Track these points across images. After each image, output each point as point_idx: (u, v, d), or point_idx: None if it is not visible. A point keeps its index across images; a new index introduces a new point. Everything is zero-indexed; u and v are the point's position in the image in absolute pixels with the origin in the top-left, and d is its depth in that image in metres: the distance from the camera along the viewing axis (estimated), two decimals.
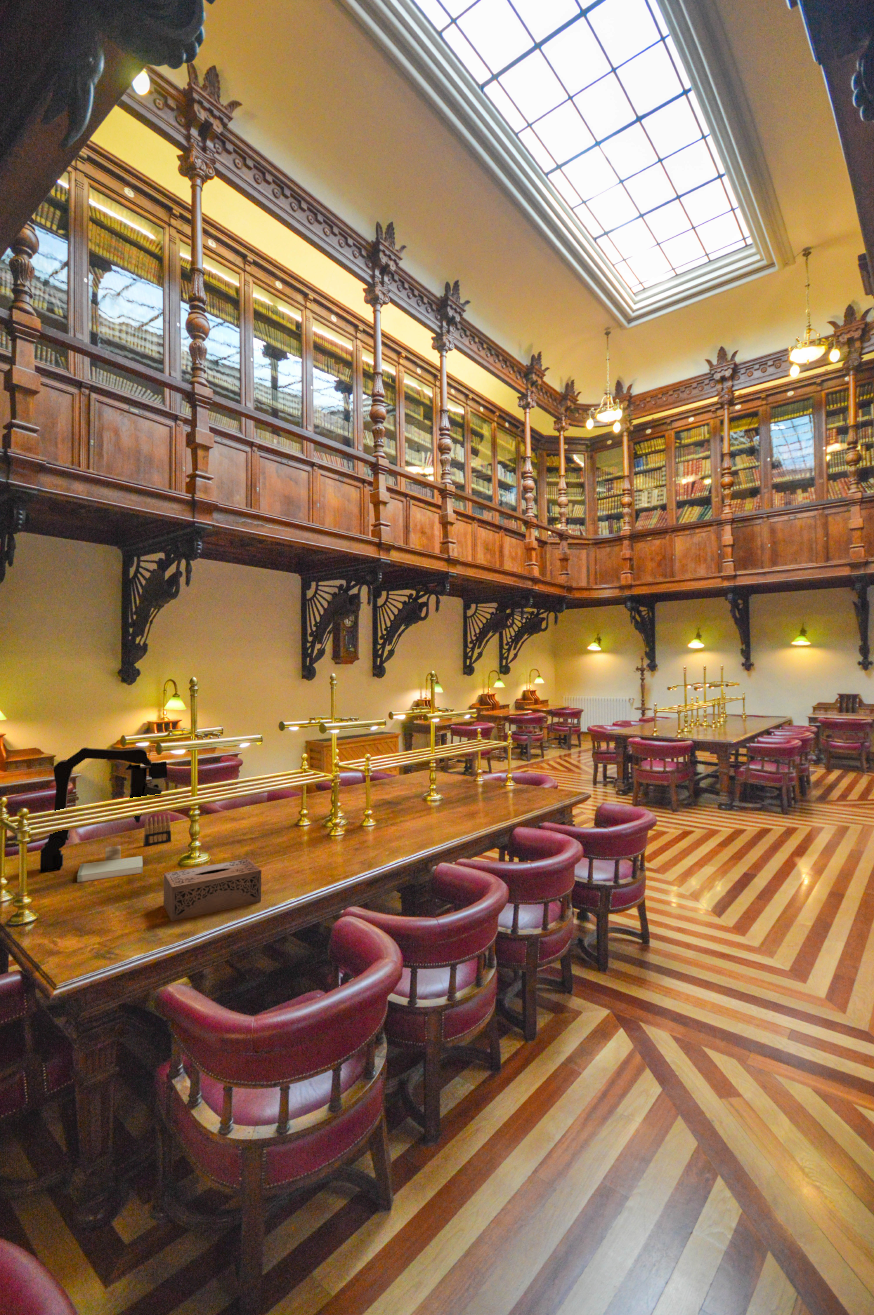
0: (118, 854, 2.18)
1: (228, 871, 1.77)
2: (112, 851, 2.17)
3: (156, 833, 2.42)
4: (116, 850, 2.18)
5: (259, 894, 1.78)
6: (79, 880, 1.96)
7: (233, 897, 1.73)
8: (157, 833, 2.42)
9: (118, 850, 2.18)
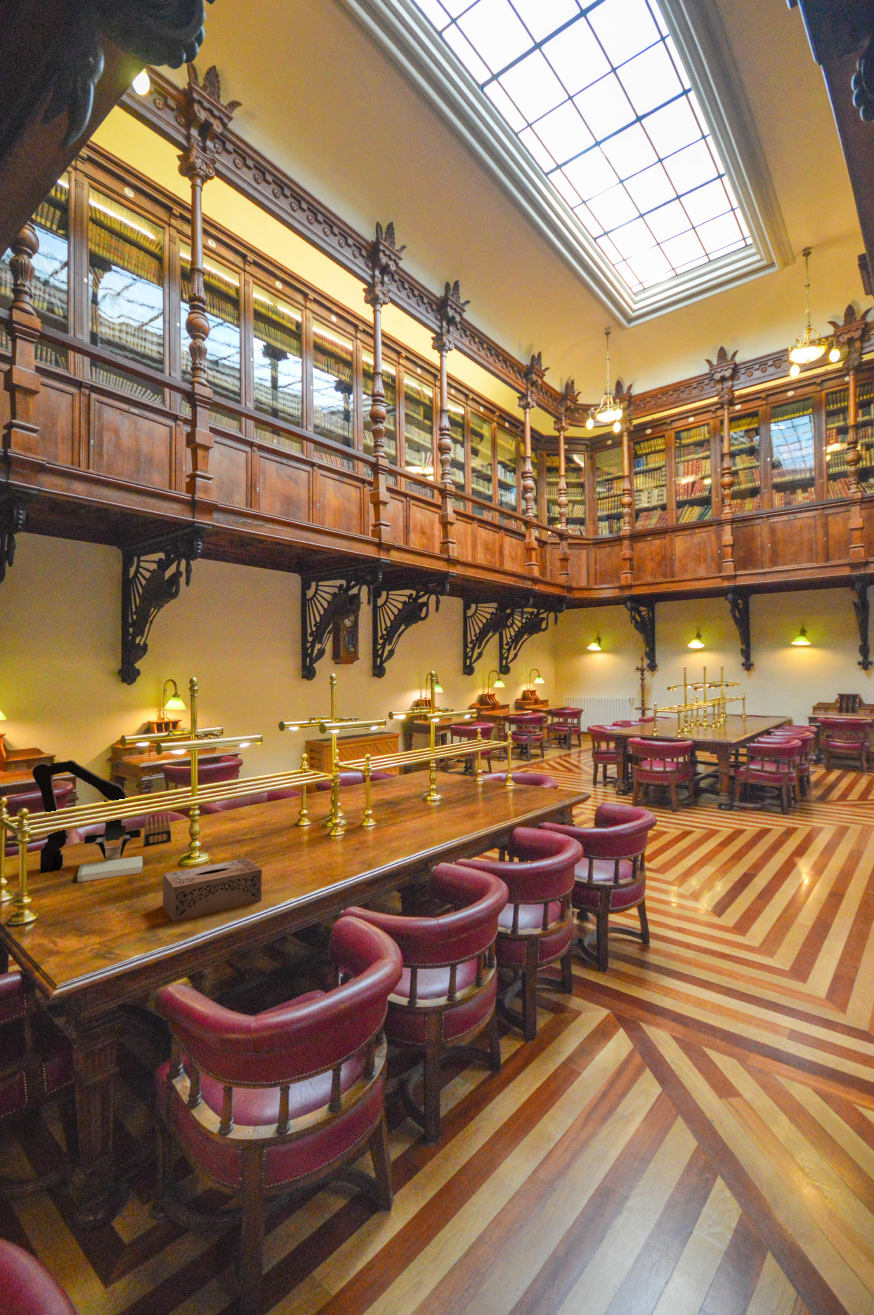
0: (118, 854, 2.18)
1: (228, 871, 1.77)
2: (112, 851, 2.17)
3: (156, 833, 2.42)
4: (116, 850, 2.18)
5: (259, 893, 1.78)
6: (79, 880, 1.96)
7: (234, 896, 1.74)
8: (157, 833, 2.42)
9: (118, 850, 2.18)
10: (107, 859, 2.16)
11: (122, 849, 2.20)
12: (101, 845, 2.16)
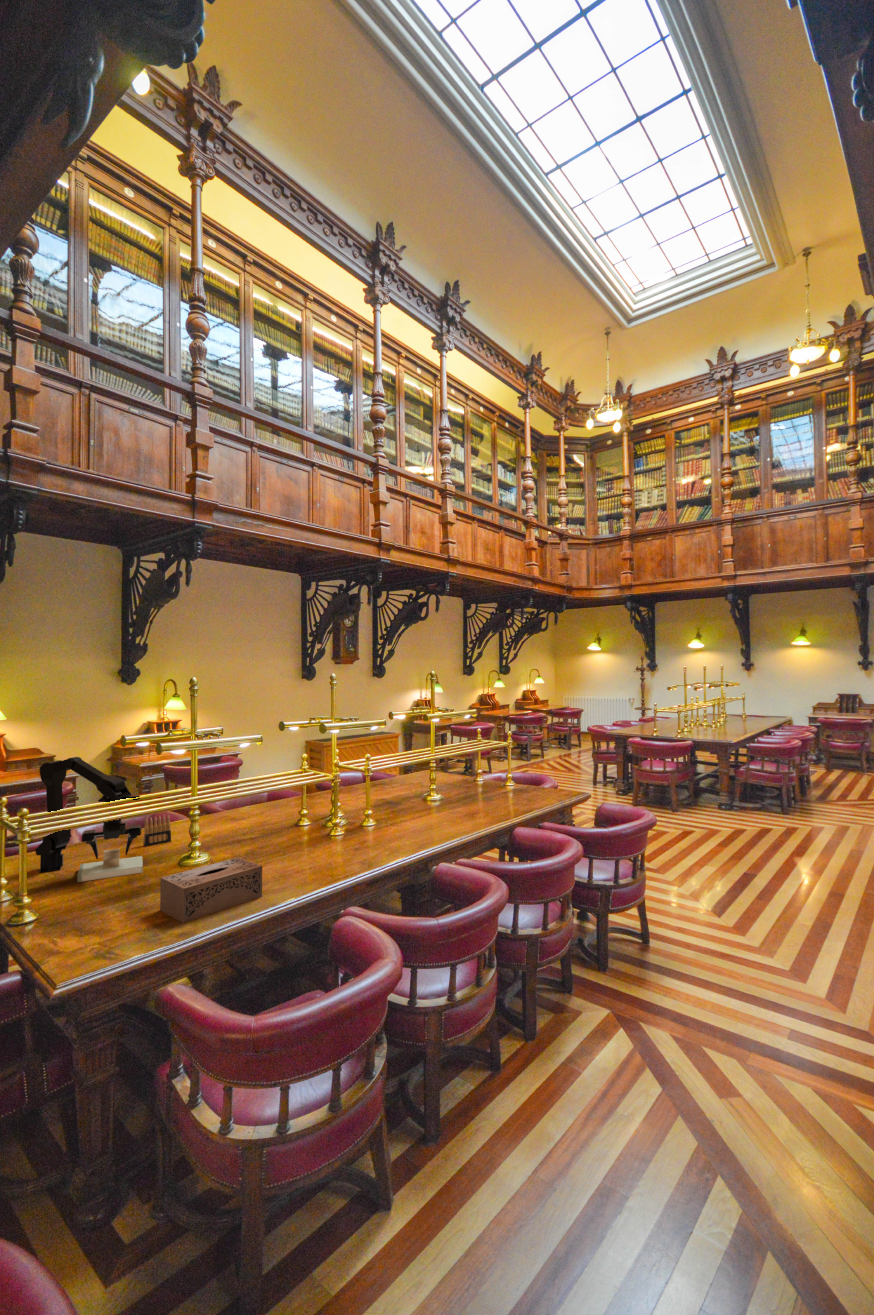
0: (117, 858, 2.06)
1: (229, 870, 1.78)
2: (110, 855, 2.05)
3: (156, 833, 2.42)
4: (115, 853, 2.06)
5: (260, 889, 1.82)
6: (79, 880, 1.96)
7: (238, 894, 1.75)
8: (157, 833, 2.42)
9: (117, 853, 2.06)
10: (105, 863, 2.04)
11: (127, 847, 2.09)
12: (93, 844, 2.03)
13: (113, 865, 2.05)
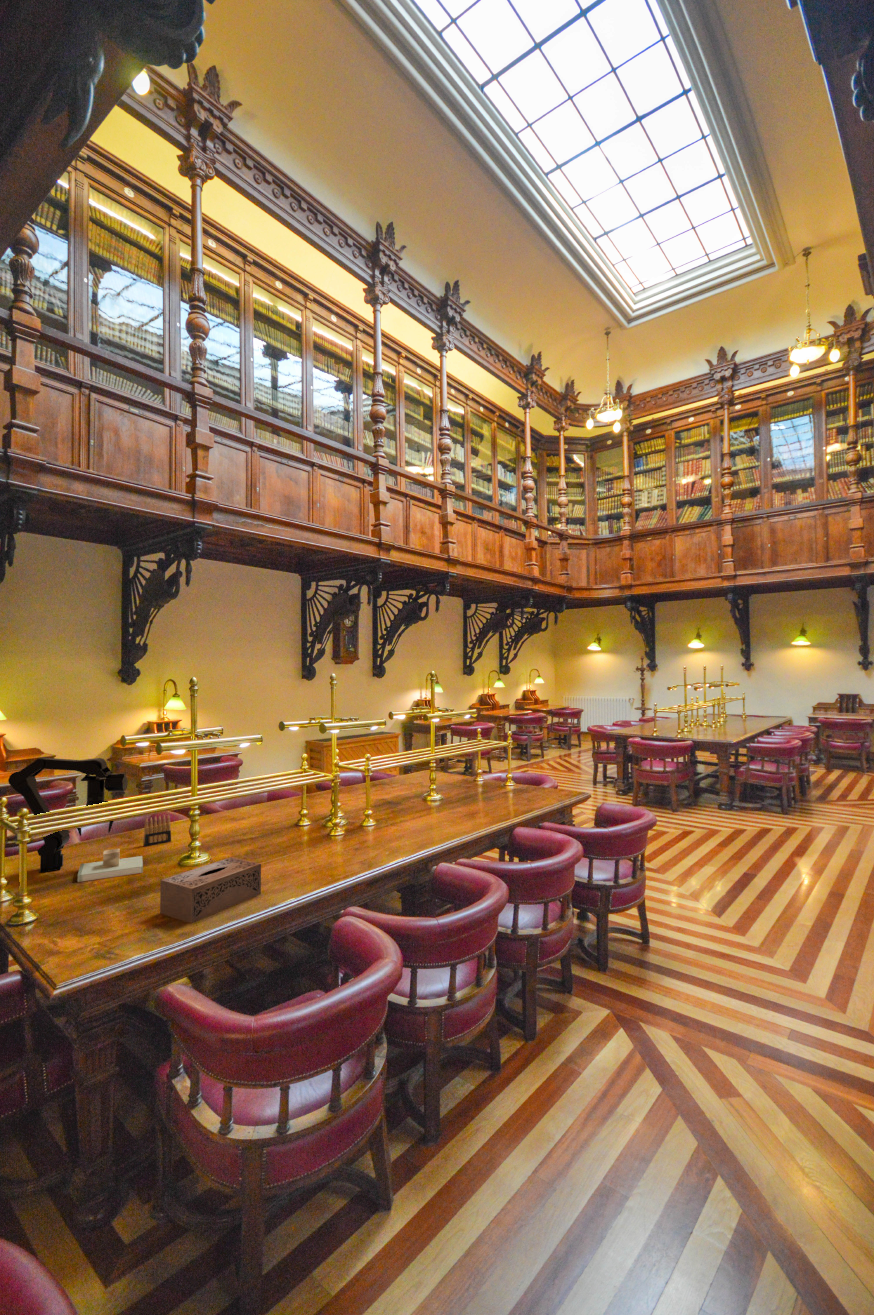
0: (117, 858, 2.06)
1: (229, 869, 1.79)
2: (110, 855, 2.05)
3: (156, 833, 2.42)
4: (115, 853, 2.06)
5: (259, 887, 1.84)
6: (79, 880, 1.96)
7: (240, 892, 1.77)
8: (157, 833, 2.42)
9: (117, 853, 2.06)
10: (105, 863, 2.04)
11: (110, 824, 2.15)
12: None
13: (113, 865, 2.05)
